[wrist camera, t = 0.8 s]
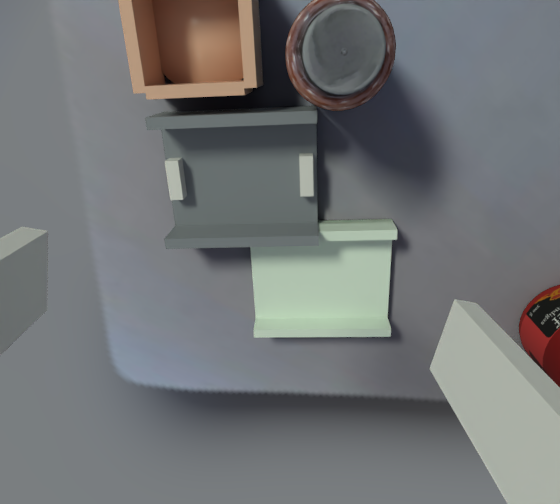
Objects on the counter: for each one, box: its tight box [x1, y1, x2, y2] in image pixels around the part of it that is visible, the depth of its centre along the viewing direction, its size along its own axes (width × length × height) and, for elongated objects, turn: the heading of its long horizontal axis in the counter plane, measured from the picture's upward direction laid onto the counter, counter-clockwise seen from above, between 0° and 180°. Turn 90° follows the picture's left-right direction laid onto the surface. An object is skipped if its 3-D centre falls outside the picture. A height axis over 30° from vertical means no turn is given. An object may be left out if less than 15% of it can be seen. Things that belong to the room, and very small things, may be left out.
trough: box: [250, 219, 397, 337], centre depth 36 cm, size 12×10×3 cm
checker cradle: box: [145, 106, 319, 249], centre depth 33 cm, size 12×10×4 cm
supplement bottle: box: [285, 0, 396, 111], centre depth 26 cm, size 6×6×11 cm
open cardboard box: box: [118, 0, 263, 99], centre depth 29 cm, size 8×8×5 cm
